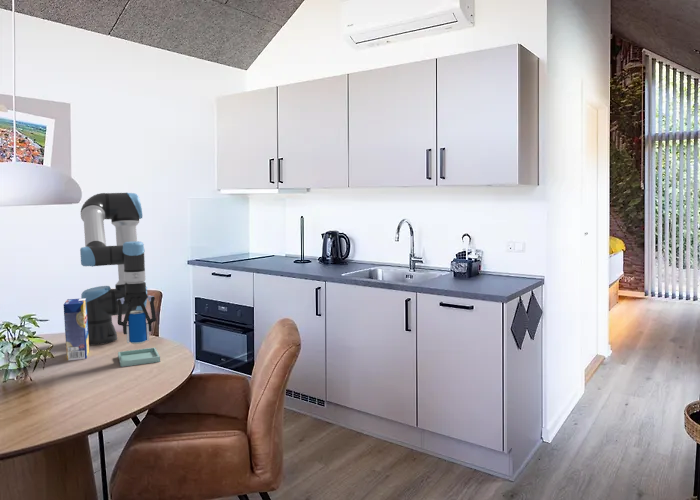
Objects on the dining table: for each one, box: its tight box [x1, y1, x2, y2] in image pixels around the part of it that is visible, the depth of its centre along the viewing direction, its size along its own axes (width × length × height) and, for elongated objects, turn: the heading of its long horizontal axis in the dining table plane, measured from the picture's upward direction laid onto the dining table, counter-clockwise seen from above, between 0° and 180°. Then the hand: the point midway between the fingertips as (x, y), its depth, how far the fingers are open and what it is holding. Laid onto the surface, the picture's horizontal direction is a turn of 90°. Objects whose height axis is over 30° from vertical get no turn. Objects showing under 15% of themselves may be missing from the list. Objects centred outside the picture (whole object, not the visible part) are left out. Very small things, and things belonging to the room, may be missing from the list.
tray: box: [117, 347, 161, 368], centre depth 217 cm, size 14×14×2 cm
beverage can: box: [127, 310, 147, 345], centre depth 215 cm, size 6×6×12 cm
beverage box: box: [63, 298, 90, 361], centre depth 221 cm, size 7×11×22 cm, turn 19°
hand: (138, 341), depth 216 cm, fingers closed on beverage can, 6 cm apart
